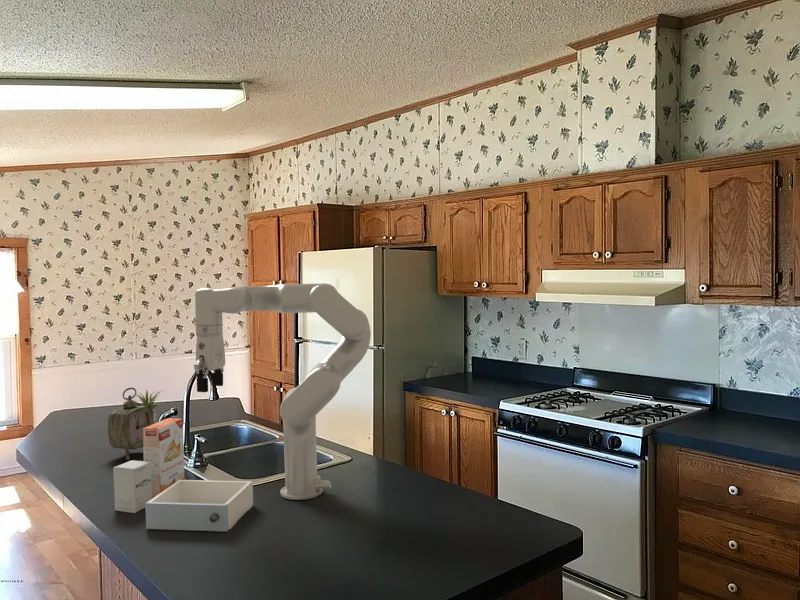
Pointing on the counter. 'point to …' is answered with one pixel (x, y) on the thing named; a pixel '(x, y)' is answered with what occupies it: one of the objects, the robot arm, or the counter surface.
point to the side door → (186, 516)
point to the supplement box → (132, 486)
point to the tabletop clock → (129, 424)
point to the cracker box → (164, 453)
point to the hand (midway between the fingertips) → (210, 388)
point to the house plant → (150, 404)
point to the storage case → (212, 495)
